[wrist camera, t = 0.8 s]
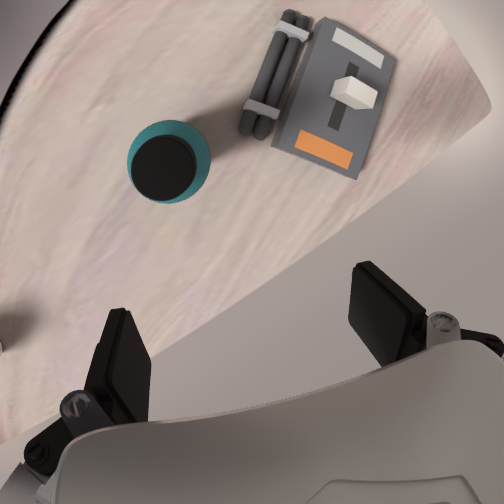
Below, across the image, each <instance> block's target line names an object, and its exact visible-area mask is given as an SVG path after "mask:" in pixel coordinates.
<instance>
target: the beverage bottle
mask: <svg viewBox="0 0 504 504" xmlns="http://www.w3.org/2000/svg"><path fill="white" fill-rule="evenodd" d="M210 163H211V157H210V151H209V147H208V145H207V142H206V140H205V139H204V137H203V136H202V134H201V133H200V132H199V131H198V130H197V129H195V128H194V127H192V126H191V125H189V124H187V123H185V122H181V121H176V120H165V121H160V122H157V123H154V124H152V125H150V126H148V127H147V128H145V129H144V130H143V131H142V132H140V133H139V135H138V136H137V137H136V138H135V140H134V141H133V143H132V145H131V147H130V150H129V153H128V159H127V168H128V174H129V177H130V179H131V182H132V183H133V185H134V187H135V188H136V189H137V190H138V191H139V192H140V193H141V194H142V195H143V196H144V197H146V198H148V199H149V200H152V201H154V202H158V203H167V204H170V203H176V202H180V201H183V200H185V199H187V198H189V197H191V196H192V195H194V194H195V193H196V192H197V191H198V190H199V189H200V188H201V187H202V185H203V184H204V182H205V180H206V178H207V176H208V173H209V169H210Z"/></svg>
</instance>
